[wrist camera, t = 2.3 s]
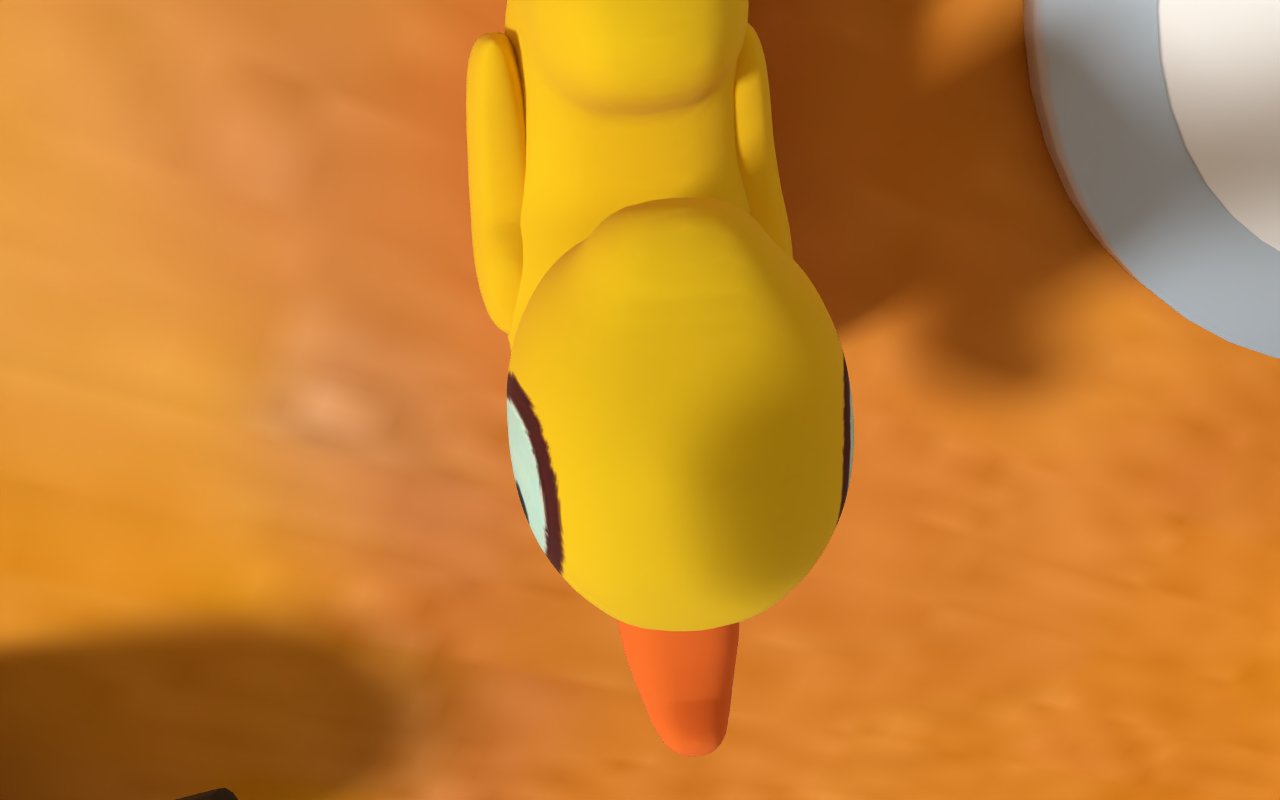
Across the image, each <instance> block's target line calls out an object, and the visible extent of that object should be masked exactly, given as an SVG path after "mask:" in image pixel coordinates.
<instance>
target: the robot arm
mask: <svg viewBox="0 0 1280 800" xmlns="http://www.w3.org/2000/svg"><path fill="white" fill-rule="evenodd" d="M176 800H238V799H237V798H236V796H235V795H234V794H233V792H231V791H229V790H228V789H226V788H221V789H215V790H211V791H208V792H204V793H200V794H196V795H192V796H188V797H184V798H180V799H176Z"/></svg>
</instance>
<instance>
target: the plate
mask: <svg viewBox="0 0 1280 800" xmlns="http://www.w3.org/2000/svg"><path fill="white" fill-rule="evenodd" d="M1023 30H1024V38H1025V46H1026V54H1027V62H1028V71H1029V79H1030V87H1031V92H1032V96H1033V100H1034V103H1035V107H1036V111H1037V115H1038V118H1039V122H1040V126H1041V130H1042V133H1043V137H1044V141H1045V145H1046V147H1047V150H1048V152H1049V154H1050V156H1051V159H1052V161H1053V163H1054V166H1055V168H1056V170H1057V173H1058V175H1059V177H1060V180H1061V182H1062V184H1063V186H1064V189H1065V191H1066V193H1067V195H1068V197H1069V198H1070V200H1071V201H1072V203H1073V205H1074V206H1075V208H1076V209H1077V211H1078V212H1079V214H1080V216H1081V217H1082V219H1083V220H1084V222H1085V223H1086V225H1087V226H1088V228H1089V230H1090V231H1091V233H1092V234H1093V236H1094V237H1095V238H1096V239H1097V240H1098V242H1099V243H1100V244H1101V245H1102V246H1103V247H1104V248H1105V249H1106V250H1107V251H1108V253H1109V254H1110V255H1111V256H1112V257H1113V258H1114V259H1115V260H1116V261H1117V263H1118V264H1119V265H1120V266H1121V267H1122V268H1123V269H1124V270H1125V271H1126V272H1127V273H1128V274H1129V275H1131V276H1132V277H1133V278H1134V279H1136V280H1137V281H1138V282H1139V283H1141V284H1142V285H1143V286H1145V287H1146V288H1147V289H1148V290H1150V291H1151V292H1152V293H1153V294H1155V295H1156V296H1157V297H1159V298H1160V299H1161V300H1162V301H1164V302H1165V303H1166V304H1168V305H1169V306H1170V307H1172V308H1173V309H1174V310H1176V311H1177V312H1178V313H1180V314H1181V315H1182V316H1184V317H1185V318H1186V319H1188V320H1190V321H1191V322H1193V323H1195V324H1197V325H1199V326H1201V327H1202V328H1204V329H1206V330H1208V331H1210V332H1212V333H1214V334H1215V335H1217V336H1219V337H1221V338H1223V339H1225V340H1226V341H1228V342H1231V343H1234V344H1237V345H1240V346H1242V347H1245V348H1248V349H1251V350H1254V351H1257V352H1260V353H1263V354H1265V355H1268V356H1271V357H1275V358H1280V0H1023Z"/></svg>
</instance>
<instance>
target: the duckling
mask: <svg viewBox="0 0 1280 800" xmlns="http://www.w3.org/2000/svg"><path fill="white" fill-rule="evenodd" d="M748 7H749V2H748V0H507V7H506V16H505V35H504V34H502V33H487V34H484V35H482V36H481V37H479V38H478V39H477V41H476V42H475V44H474V46H473V48H472V51H471V54H470V57H469V62H468V70H467V83H466V123H467V149H468V177H469V194H470V210H471V228H472V241H473V252H474V260H475V268H476V274H477V279H478V283H479V287H480V291H481V294H482V298H483V301H484V304H485V306H486V309H487V311H488V313H489V315H490V317H491V319H492V320H493V322H494V323H495V324H496V326H497V327H498V328H500V329H501V330H502V331H503V332H505V333H508V339H509V343H510V349H511V357H510V363H509V371H508V382H507V419H508V434H509V445H510V454H511V460H512V466H513V472H514V477H515V481H516V486H517V490H518V494H519V497H520V501H521V504H522V507H523V510H524V513H525V515H526V518H527V520H528V523H529V525H530V527H531V529H532V531H533V533H534V535H535V537H536V539H537V541H538V543H539V545H540V546H541V548H542V550H543V551H544V553H545V554H546V556H547V557H548V559H549V560H550V561H551V563H552V564H553V566H554V567H555V568H556V569H557V571H558V572H559V573H560V574H561V576H562V577H563V578H564V579H565V580H566V581H567V582H568V583H569V584H570V585H571V586H572V587H573V588H574V589H575V590H576V591H577V592H578V593H579V594H580V595H582V596H583V597H584V598H585V599H587V600H588V601H589V602H591V603H592V604H593V605H595V606H596V607H598V608H599V609H601V610H602V611H604V612H605V613H607V614H608V615H610V616H612V617H613V618H615V619H617V620H618V625H619V631H620V636H621V640H622V645H623V649H624V652H625V655H626V658H627V661H628V664H629V667H630V670H631V672H632V675H633V677H634V680H635V683H636V685H637V688H638V690H639V693H640V695H641V697H642V700H643V702H644V705H645V708H646V710H647V712H648V715H649V718H650V720H651V722H652V724H653V725H654V727H655V729H656V730H657V732H658V734H659V736H660V737H661V739H662V740H663V742H664V743H665V744H666V746H667V747H669V748H670V749H671V750H673V751H674V752H676V753H678V754H680V755H684V756H702V755H706V754H708V753H711V752H713V751H714V750H715V749H717V747H718V746H719V745H720V744H721V742H722V740H723V738H724V736H725V734H726V730H727V724H728V717H729V711H730V702H731V694H732V685H733V677H734V669H735V661H736V654H737V646H738V637H739V622H741V621H744V620H746V619H749V618H751V617H753V616H755V615H758V614H760V613H762V612H764V611H765V610H767V609H769V608H770V607H772V606H773V605H775V604H776V603H777V602H778V601H780V600H781V599H782V598H783V597H784V596H785V595H787V594H788V593H789V592H790V591H791V590H792V589H793V588H794V587H795V586H796V585H797V584H798V583H799V582H800V581H801V580H802V579H803V578H804V577H805V576H806V575H807V574H808V573H809V571H810V570H811V569H812V567H813V566H814V565H815V563H816V562H817V560H818V559H819V557H820V556H821V554H822V553H823V551H824V549H825V548H826V546H827V544H828V542H829V540H830V538H831V536H832V534H833V532H834V530H835V528H836V525H837V523H838V521H839V518H840V515H841V513H842V510H843V506H844V503H845V500H846V496H847V492H848V488H849V483H850V477H851V470H852V462H853V447H854V421H853V406H852V396H851V388H850V382H849V376H848V371H847V366H846V362H845V358H844V354H843V350H842V347H841V343H840V340H839V337H838V334H837V331H836V329H835V326H834V324H833V321H832V319H831V317H830V315H829V313H828V311H827V309H826V306H825V305H824V303H823V301H822V299H821V297H820V295H819V293H818V292H817V290H816V288H815V287H814V285H813V284H812V282H811V281H810V279H809V278H808V276H807V275H806V274H805V272H804V271H803V270H802V269H801V267H800V266H799V265H798V264H797V263H796V262H795V261H794V259H793V250H792V241H791V234H790V227H789V222H788V217H787V212H786V207H785V203H784V198H783V194H782V189H781V184H780V178H779V172H778V166H777V159H776V152H775V145H774V136H773V126H772V112H771V101H770V90H769V81H768V73H767V66H766V61H765V56H764V52H763V49H762V45H761V43H760V40H759V37H758V35H757V33H756V31H755V30H754V28H753V27H752V26H751V25H750V24H749V23H747V22H748Z"/></svg>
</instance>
